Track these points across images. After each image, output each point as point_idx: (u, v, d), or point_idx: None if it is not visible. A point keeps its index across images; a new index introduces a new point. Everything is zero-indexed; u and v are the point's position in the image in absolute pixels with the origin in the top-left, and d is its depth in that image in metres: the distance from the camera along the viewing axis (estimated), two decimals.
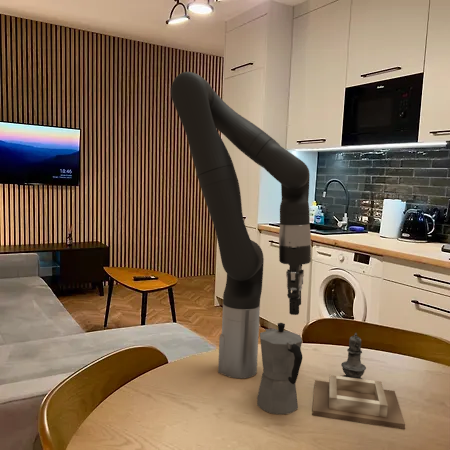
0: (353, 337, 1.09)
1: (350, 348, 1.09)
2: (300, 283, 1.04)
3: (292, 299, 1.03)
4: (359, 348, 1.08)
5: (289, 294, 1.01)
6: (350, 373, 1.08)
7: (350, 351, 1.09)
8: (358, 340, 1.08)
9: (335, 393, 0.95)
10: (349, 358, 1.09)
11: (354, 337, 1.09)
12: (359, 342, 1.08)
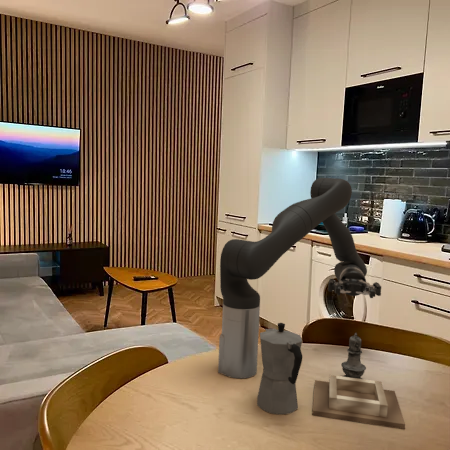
0: (353, 337, 1.09)
1: (350, 348, 1.09)
2: None
3: (375, 290, 1.23)
4: (359, 348, 1.08)
5: None
6: (350, 373, 1.08)
7: (350, 351, 1.09)
8: (358, 340, 1.08)
9: (335, 393, 0.95)
10: (349, 358, 1.09)
11: (354, 337, 1.09)
12: (359, 342, 1.08)
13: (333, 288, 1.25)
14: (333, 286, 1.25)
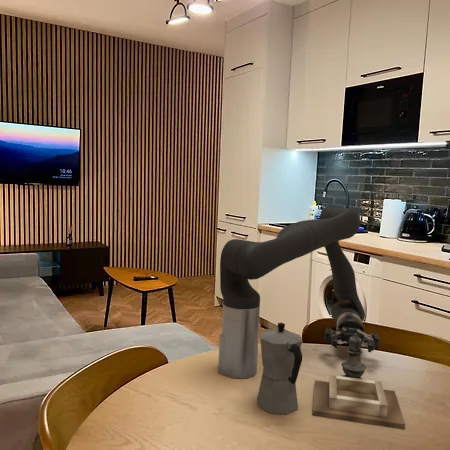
0: (353, 337, 1.09)
1: (350, 348, 1.09)
2: None
3: (373, 343, 1.17)
4: (359, 348, 1.08)
5: None
6: (350, 373, 1.08)
7: (350, 351, 1.09)
8: (358, 340, 1.08)
9: (335, 393, 0.95)
10: (349, 358, 1.09)
11: (354, 337, 1.09)
12: (359, 342, 1.08)
13: (330, 339, 1.20)
14: (330, 337, 1.20)
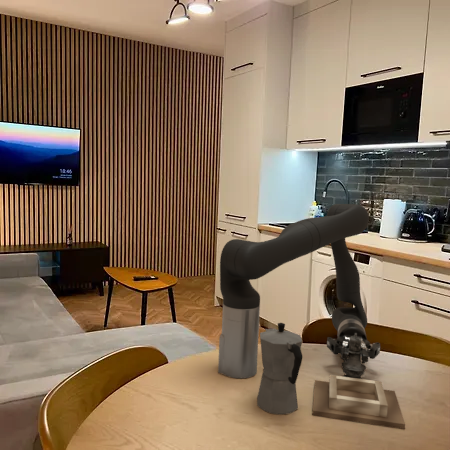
0: (353, 337, 1.09)
1: (350, 348, 1.09)
2: None
3: (368, 353, 1.10)
4: (359, 348, 1.08)
5: (374, 350, 1.11)
6: (351, 373, 1.08)
7: (350, 351, 1.09)
8: (358, 340, 1.08)
9: (335, 393, 0.95)
10: (349, 358, 1.09)
11: (354, 337, 1.09)
12: (359, 342, 1.08)
13: (339, 351, 1.11)
14: (339, 349, 1.12)
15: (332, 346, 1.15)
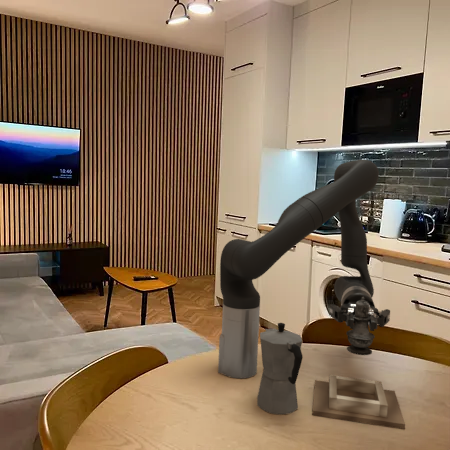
0: (360, 301, 0.95)
1: (356, 314, 0.95)
2: None
3: (376, 320, 0.96)
4: (367, 314, 0.95)
5: (384, 316, 0.97)
6: (357, 342, 0.94)
7: (356, 317, 0.95)
8: (366, 304, 0.94)
9: (335, 393, 0.95)
10: (355, 325, 0.96)
11: (361, 301, 0.95)
12: (367, 307, 0.94)
13: (344, 318, 0.98)
14: (344, 316, 0.98)
15: (336, 313, 1.01)
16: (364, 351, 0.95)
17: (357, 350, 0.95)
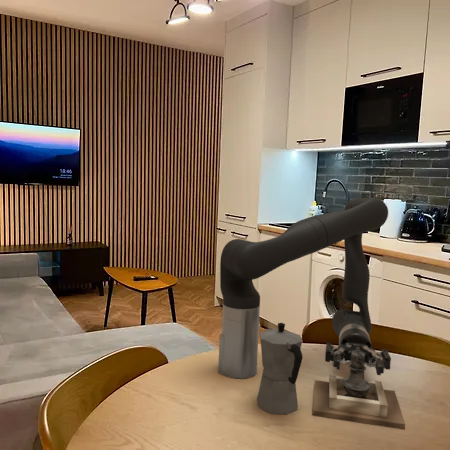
0: (355, 352, 0.96)
1: (352, 364, 0.96)
2: None
3: (383, 363, 0.97)
4: (362, 364, 0.96)
5: None
6: (353, 393, 0.95)
7: (352, 368, 0.96)
8: (361, 355, 0.95)
9: (335, 393, 0.95)
10: (351, 375, 0.96)
11: (356, 352, 0.96)
12: (362, 357, 0.95)
13: (331, 358, 1.00)
14: (331, 356, 1.00)
15: None
16: None
17: None
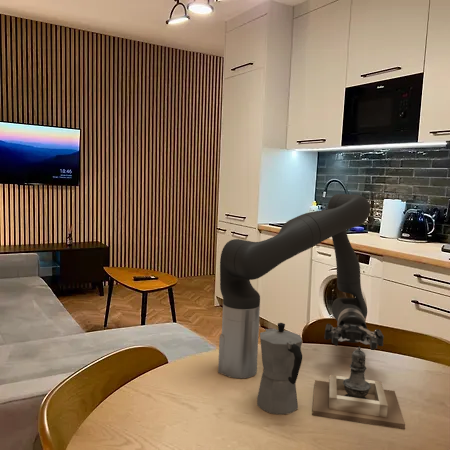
0: (356, 351, 0.96)
1: (353, 364, 0.96)
2: None
3: (376, 340, 1.10)
4: (363, 364, 0.96)
5: None
6: (353, 393, 0.95)
7: (353, 367, 0.96)
8: (362, 355, 0.96)
9: (335, 393, 0.95)
10: (352, 375, 0.97)
11: (357, 351, 0.96)
12: (363, 357, 0.96)
13: (330, 336, 1.13)
14: (330, 334, 1.13)
15: None
16: None
17: None
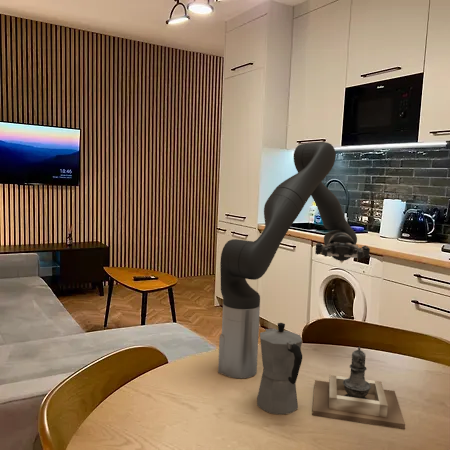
0: (356, 352, 0.96)
1: (353, 364, 0.96)
2: None
3: (363, 252, 1.19)
4: (363, 364, 0.96)
5: None
6: (353, 393, 0.95)
7: (353, 368, 0.96)
8: (362, 355, 0.95)
9: (335, 393, 0.95)
10: (352, 375, 0.96)
11: (357, 352, 0.96)
12: (363, 358, 0.95)
13: (320, 250, 1.21)
14: (320, 248, 1.21)
15: None
16: None
17: None
